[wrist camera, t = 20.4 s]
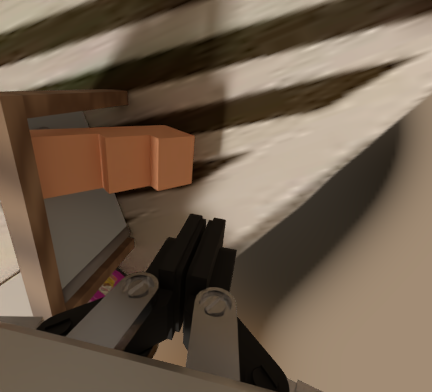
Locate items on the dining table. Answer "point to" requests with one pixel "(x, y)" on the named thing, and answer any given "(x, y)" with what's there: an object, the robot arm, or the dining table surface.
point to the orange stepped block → (112, 158)
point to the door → (80, 220)
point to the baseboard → (14, 298)
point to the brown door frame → (33, 198)
